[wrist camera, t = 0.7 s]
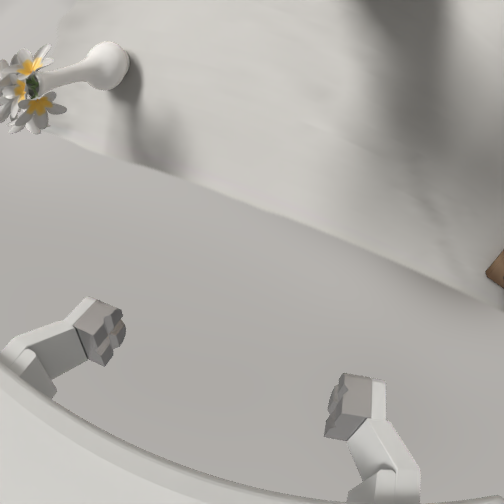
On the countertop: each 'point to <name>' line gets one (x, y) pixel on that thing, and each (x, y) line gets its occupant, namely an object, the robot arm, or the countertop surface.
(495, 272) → the towel rod holder
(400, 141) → the countertop surface
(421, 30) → the countertop surface
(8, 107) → the flower vase
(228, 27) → the countertop surface
